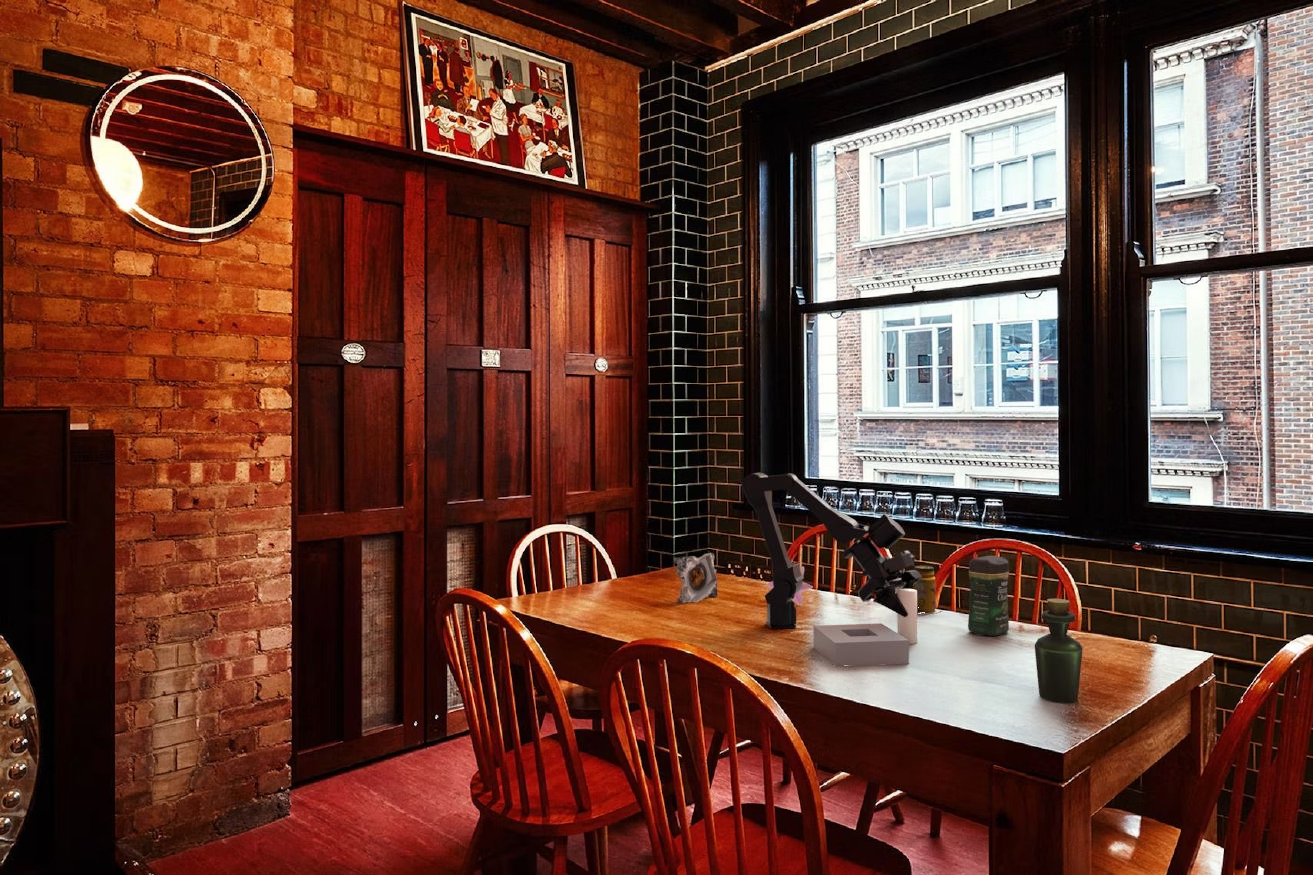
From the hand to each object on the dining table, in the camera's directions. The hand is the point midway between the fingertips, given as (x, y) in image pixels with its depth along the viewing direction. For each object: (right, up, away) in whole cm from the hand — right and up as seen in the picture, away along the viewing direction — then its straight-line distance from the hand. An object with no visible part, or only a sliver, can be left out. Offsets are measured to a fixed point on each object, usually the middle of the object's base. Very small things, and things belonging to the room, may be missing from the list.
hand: (912, 614), depth 204 cm
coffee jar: (+21, -6, +10) cm, 24 cm away
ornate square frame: (-48, -7, +52) cm, 71 cm away
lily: (-21, -6, +48) cm, 53 cm away
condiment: (+13, -6, +35) cm, 38 cm away
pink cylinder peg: (-1, -7, +1) cm, 7 cm away
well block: (-15, -7, -10) cm, 19 cm away
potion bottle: (+15, -7, -41) cm, 45 cm away
